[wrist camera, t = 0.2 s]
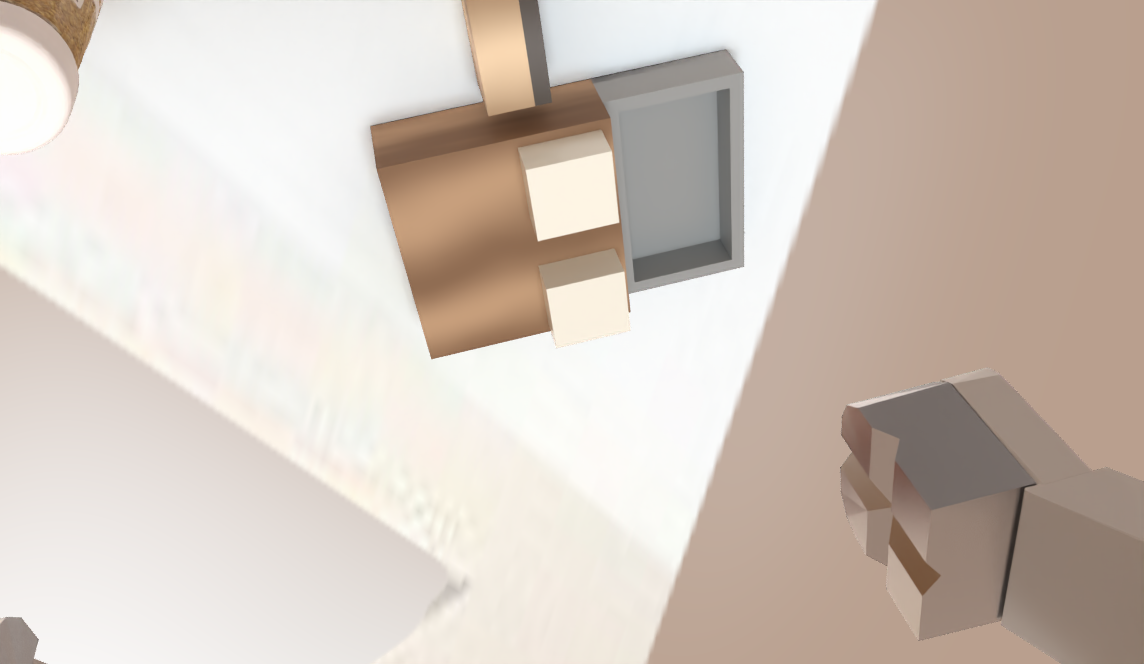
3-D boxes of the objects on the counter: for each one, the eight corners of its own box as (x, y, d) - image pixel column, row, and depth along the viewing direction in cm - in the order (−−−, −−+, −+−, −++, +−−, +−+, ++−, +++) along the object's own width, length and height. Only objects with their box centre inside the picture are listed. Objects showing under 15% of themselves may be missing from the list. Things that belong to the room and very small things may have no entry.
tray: (590, 78, 50) (602, 102, 48) (726, 49, 51) (743, 71, 49) (612, 268, 58) (623, 295, 56) (728, 241, 59) (744, 266, 57)
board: (370, 126, 49) (376, 169, 46) (590, 78, 50) (610, 117, 47) (423, 312, 57) (431, 359, 54) (612, 268, 58) (630, 311, 55)
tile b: (538, 265, 52) (546, 289, 50) (614, 248, 52) (624, 271, 50) (548, 324, 54) (556, 348, 53) (620, 307, 55) (630, 330, 53)
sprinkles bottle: (79, 17, 43) (21, 185, 33) (-30, -56, 40) (-130, 103, 30) (142, -64, 41) (100, 87, 31) (32, -146, 39) (-51, -10, 29)
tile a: (517, 147, 47) (525, 170, 45) (601, 129, 47) (611, 151, 46) (530, 217, 50) (537, 241, 48) (608, 200, 50) (619, 222, 48)
